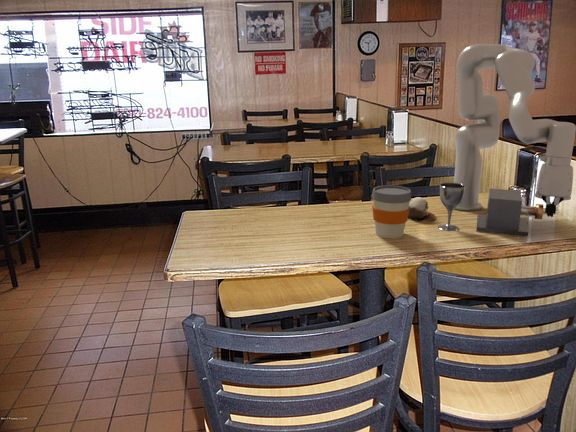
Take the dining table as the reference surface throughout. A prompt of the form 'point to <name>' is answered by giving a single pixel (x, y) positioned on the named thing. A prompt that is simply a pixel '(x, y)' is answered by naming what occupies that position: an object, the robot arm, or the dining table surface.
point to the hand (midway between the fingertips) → (549, 215)
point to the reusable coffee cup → (390, 210)
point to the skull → (420, 210)
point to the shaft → (533, 211)
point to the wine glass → (451, 201)
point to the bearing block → (503, 214)
